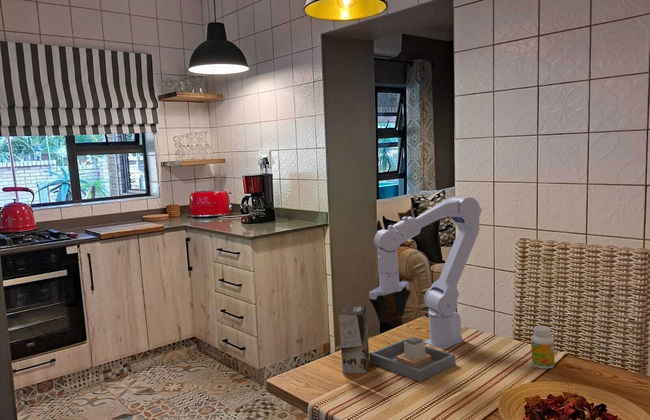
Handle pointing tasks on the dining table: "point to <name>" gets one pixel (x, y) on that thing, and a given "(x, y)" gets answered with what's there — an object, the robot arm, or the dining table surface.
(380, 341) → the dining table surface
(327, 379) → the dining table surface
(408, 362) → the inlet socket
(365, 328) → the coffee box
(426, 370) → the walled box
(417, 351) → the plug block
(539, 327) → the supplement bottle
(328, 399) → the dining table surface
